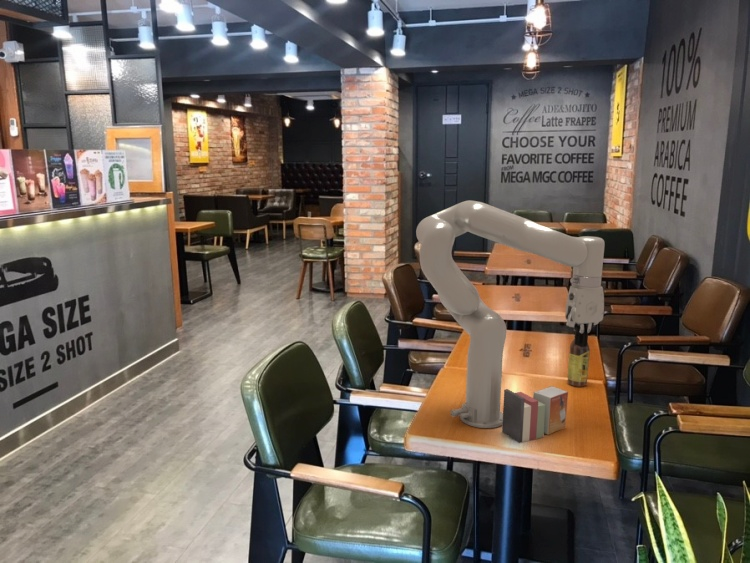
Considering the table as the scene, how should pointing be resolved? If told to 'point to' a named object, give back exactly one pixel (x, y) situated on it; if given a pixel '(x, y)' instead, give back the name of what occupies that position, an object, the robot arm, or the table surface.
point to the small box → (553, 408)
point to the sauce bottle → (578, 364)
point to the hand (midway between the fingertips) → (580, 345)
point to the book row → (522, 417)
